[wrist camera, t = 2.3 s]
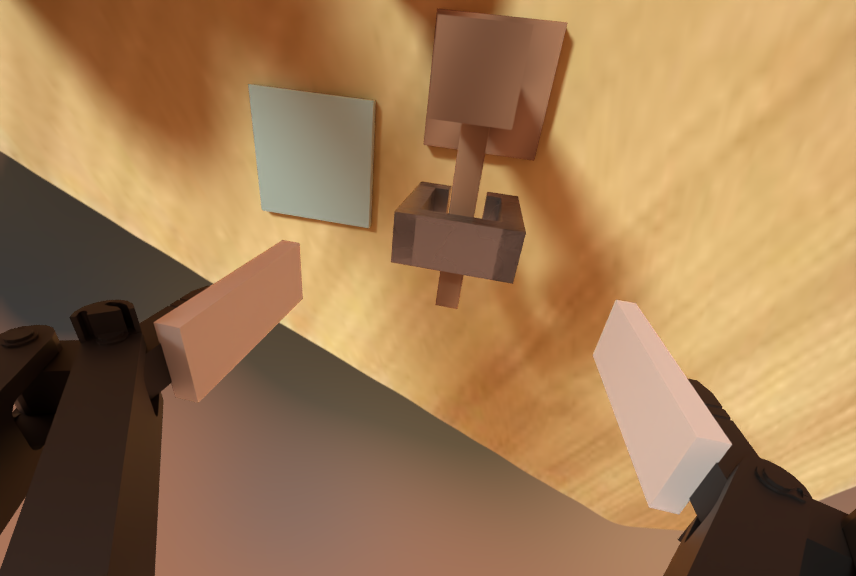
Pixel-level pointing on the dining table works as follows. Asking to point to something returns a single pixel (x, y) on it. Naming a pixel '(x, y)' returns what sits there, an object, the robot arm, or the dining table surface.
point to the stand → (487, 99)
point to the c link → (458, 235)
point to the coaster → (314, 154)
